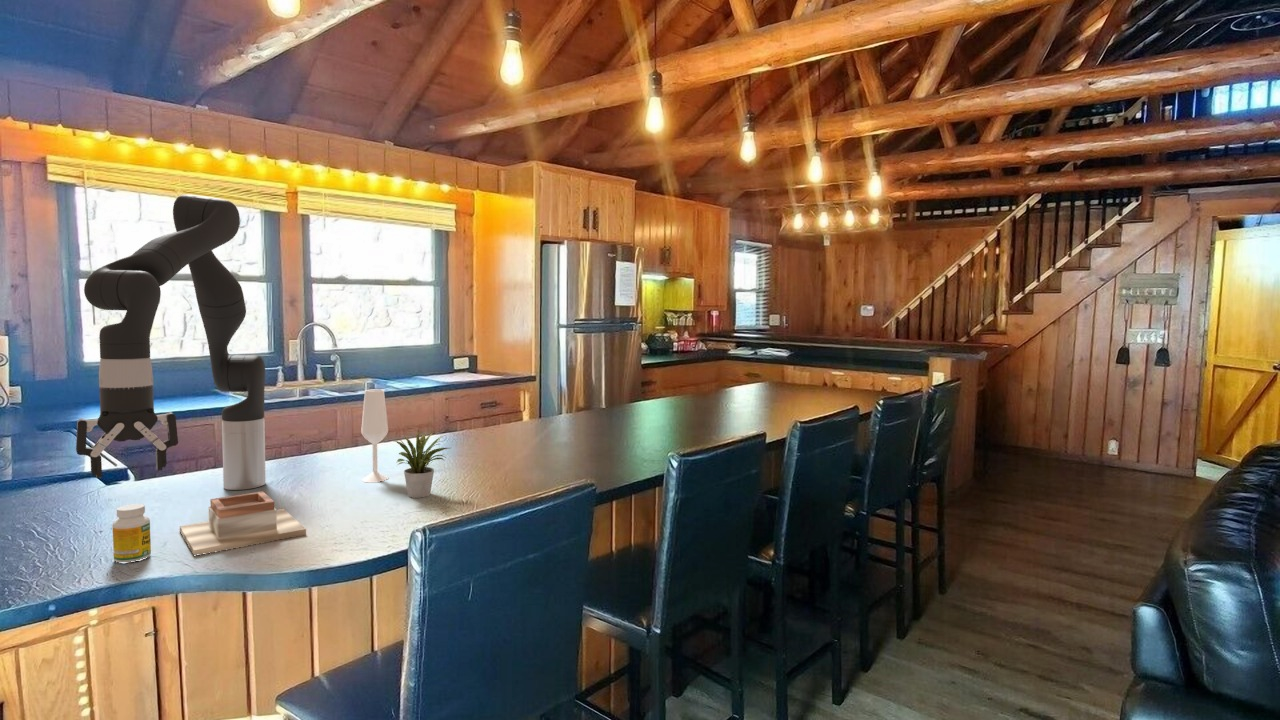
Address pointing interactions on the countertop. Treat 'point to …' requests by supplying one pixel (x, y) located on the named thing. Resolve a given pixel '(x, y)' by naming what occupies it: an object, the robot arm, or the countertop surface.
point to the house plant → (419, 466)
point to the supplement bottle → (131, 534)
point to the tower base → (213, 544)
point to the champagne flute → (374, 426)
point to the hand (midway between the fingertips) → (129, 473)
